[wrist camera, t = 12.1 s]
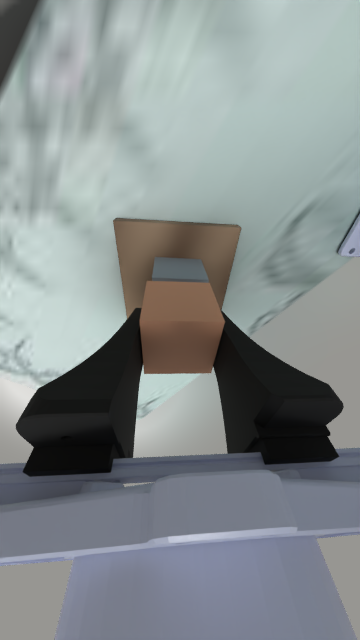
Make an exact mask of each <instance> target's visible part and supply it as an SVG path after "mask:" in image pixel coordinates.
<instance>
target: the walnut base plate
mask: <svg viewBox="0 0 360 640" xmlns="http://www.w3.org/2000/svg"><path fill="white" fill-rule="evenodd" d="M113 223H114V230H115V237H116V244H117V251H118V258H119V265H120V272H121V278H122V285H123V292H124V299H125V306H126V313H127V319H128V318H129V316H130V315H131V313H132V312H133V311H134V309H135V308H142V304H143V299H144V293H145V288H146V282H147V281H152V274H153V267H154V260H155V257H165V258H184V259H201V261H202V263H203V266H204V269H205V271H206V274H207V276H208V279H209V283H210V285H211V287H212V290H213V292H214V295H215V298H216V300H217V303H218V305H219V308H220V310H221V309H222V305H223V301H224V297H225V293H226V289H227V285H228V281H229V276H230V272H231V268H232V264H233V260H234V256H235V252H236V248H237V243H238V239H239V235H240V231H241V227H240V226H238V225H228V224H211V223H193V222H176V221H158V220H141V219H123V218H116V219H114V220H113Z"/></svg>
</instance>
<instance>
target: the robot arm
mask: <svg viewBox="0 0 360 640" xmlns="http://www.w3.org/2000/svg"><path fill="white" fill-rule="evenodd" d="M351 249H352V250H351ZM350 250H351V251H350ZM349 251H350V252H349ZM338 253H339V255H341V256H351V257H360V214H359V216H358V218H357V220H356V221H355V223H354V225H353V226H352V228H351V230H350V232H349V233H348V235H347V237H346V239H345V240H344V242H343V244H342V245H341V247H340V249H339V251H338ZM141 310H142V308H135V309H134V311H133V312H132V313H131V315H130V316H129V318H128V319H127V320H126V322H125V323H124V324H123V325H122V326H121V328H120V329H119V330H118V331H117V332H116V333H115V334H114V335H113V336H112V338H111V339H110V340H109V341H108V342H107V343H105V344H104V345H103V346H102V347H101V348H100V349H99V350H98V351H96V352H95V353H94V354H93V355H91V356H90V357H89V358H87V359H86V360H85V361H84V362H82V363H81V364H79V365H78V366H76V367H75V368H73V369H72V370H70V371H68V372H67V373H65V374H64V375H62V376H60V377H58V378H57V379H55V380H53V381H51V382H49V383H48V384H46V385H44V386H42V387H40V388H38V390H37V391H36V393H35V394H34V396H33V397H32V398H31V400H30V402H29V403H28V405H27V407H26V408H25V410H24V412H23V413H22V415H21V417H20V418H19V420H18V422H17V424H16V430H17V431H18V433H19V434H20V435H21V436H22V437H23V438H24V439H25V440H26V441H28V442H29V443H30V444H31V445H32V446H33V447H34V448H33V451H32V453H31V455H30V457H29V459H28V461H27V463H11V464H0V566H4V565H17V564H28V563H41V562H52V561H65V560H73V564H72V567H71V572H70V576H69V580H68V584H67V588H66V592H65V597H64V601H63V605H62V609H61V613H60V617H59V621H58V626H57V630H56V634H55V638H54V640H357V638H356V635H355V633H354V630H353V628H352V625H351V623H350V621H349V618H348V615H347V613H346V611H345V608H344V606H343V603H342V601H341V599H340V596H339V593H338V591H337V589H336V586H335V584H334V581H333V579H332V576H331V574H330V571H329V569H328V566H327V564H326V562H325V559H324V557H323V555H322V552H321V549H320V547H319V544H318V542H317V540H316V538H326V537H337V536H348V535H357V534H360V448H346V449H345V448H344V449H335V448H334V447H333V445H332V443H331V442H330V440H329V438H328V437H327V436H330V432H329V430H328V429H327V427H326V425H327V424H328V423H329V422H331V421H332V420H333V419H334V418H336V417H337V416H338V415H339V414H340V413H341V412H342V409H343V403H342V401H341V400H340V399H339V397H338V396H337V395H336V394H335V392H334V391H333V390H332V388H331V387H330V386H329V385H328V384H327V383H324V382H322V381H320V380H318V379H316V378H314V377H311V376H309V375H307V374H305V373H303V372H301V371H299V370H297V369H296V368H294V367H292V366H290V365H288V364H287V363H285V362H283V361H281V360H280V359H278V358H277V357H275V356H273V355H272V354H270V353H269V352H267V351H266V350H265V349H263V348H262V347H260V346H259V345H258V344H256V343H255V342H254V341H253V340H252V339H250V338H249V337H248V336H247V335H246V334H245V333H244V332H242V331H241V330H240V329H239V328H238V327H237V326H236V325H235V324H234V323H233V322H232V321H231V320H230V319H229V318H228V317H227V316H226V315H225V314H224V313H223V312H222V311H221V313H222V315H223V318H224V321H225V324H224V327H223V331H222V335H221V338H220V342H219V346H218V349H217V353H216V357H215V360H214V364H213V367H214V370H215V373H216V377H217V382H218V386H219V393H220V398H221V405H222V411H223V419H224V426H225V433H226V442H227V451H228V454H214V455H213V454H211V455H190V456H169V457H168V456H167V457H147V458H146V457H144V458H133V449H134V435H135V424H136V412H137V401H138V391H139V382H140V376H141V371H142V366H143V354H142V343H141V332H140V315H141ZM142 482H155V483H149V484H143V485H135V486H128V487H124V485H123V484H126V483H142Z"/></svg>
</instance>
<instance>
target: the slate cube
mask: <svg viewBox="0 0 360 640" xmlns="http://www.w3.org/2000/svg"><path fill="white" fill-rule="evenodd" d="M152 281H170V282H200V283H209V279H208V276H207V274H206V271H205V269H204V266H203V263H202V261H201V259H184V258H165V257H155V260H154V267H153V274H152Z"/></svg>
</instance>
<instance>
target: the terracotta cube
mask: <svg viewBox="0 0 360 640" xmlns="http://www.w3.org/2000/svg"><path fill="white" fill-rule="evenodd" d="M224 324H225V321H224V318H223V315H222V313H221V310H220V308H219V305H218V303H217V300H216V298H215V295H214V292H213V290H212V287H211V285H210V283H200V282H170V281H147V282H146V288H145V293H144V299H143V304H142V310H141V315H140V332H141V343H142V354H143V365H144V374H173V373H211V371H212V368H213V364H214V360H215V357H216V353H217V349H218V346H219V342H220V338H221V335H222V331H223V327H224Z"/></svg>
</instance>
